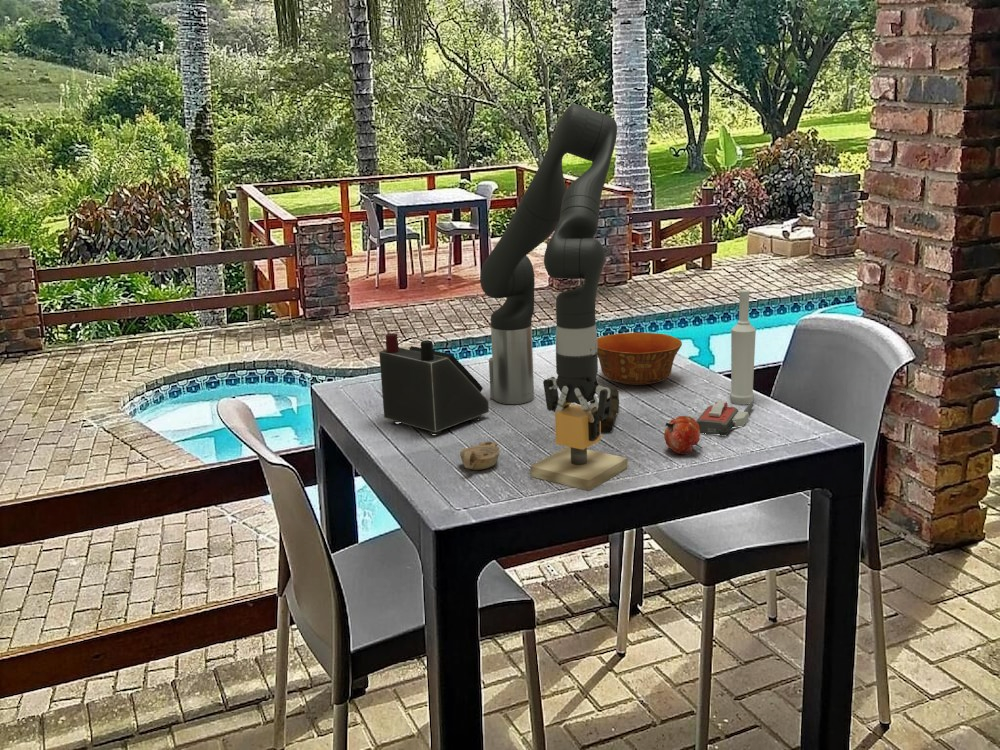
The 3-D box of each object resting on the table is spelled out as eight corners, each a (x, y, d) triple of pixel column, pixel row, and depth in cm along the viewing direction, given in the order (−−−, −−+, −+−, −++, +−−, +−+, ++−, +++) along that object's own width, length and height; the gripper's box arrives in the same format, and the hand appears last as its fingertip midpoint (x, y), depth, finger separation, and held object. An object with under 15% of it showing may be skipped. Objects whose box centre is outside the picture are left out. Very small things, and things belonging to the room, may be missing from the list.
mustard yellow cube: (555, 443, 194) (554, 413, 192) (574, 434, 199) (573, 404, 197) (583, 449, 191) (582, 418, 189) (600, 440, 195) (600, 409, 193)
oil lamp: (475, 453, 209) (474, 429, 207) (510, 457, 206) (509, 432, 204) (447, 476, 197) (446, 451, 196) (484, 481, 194) (482, 455, 193)
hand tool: (613, 434, 216) (612, 413, 215) (593, 433, 217) (593, 412, 216) (628, 406, 234) (628, 386, 232) (610, 405, 235) (610, 386, 233)
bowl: (619, 365, 265) (619, 326, 262) (696, 376, 253) (697, 336, 250) (575, 386, 249) (574, 345, 246) (656, 399, 237) (656, 356, 234)
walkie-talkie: (735, 441, 210) (756, 411, 227) (735, 420, 209) (757, 391, 226) (691, 436, 214) (716, 407, 231) (692, 416, 212) (716, 388, 230)
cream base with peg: (530, 476, 195) (528, 425, 193) (570, 455, 205) (568, 406, 202) (589, 490, 188) (588, 437, 185) (627, 468, 197) (627, 417, 194)
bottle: (749, 406, 229) (752, 293, 222) (726, 403, 232) (728, 292, 225) (757, 399, 233) (760, 289, 226) (734, 397, 236) (736, 287, 229)
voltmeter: (490, 418, 229) (486, 328, 224) (435, 438, 218) (429, 345, 212) (439, 404, 240) (433, 319, 234) (384, 423, 228) (377, 334, 223)
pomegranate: (686, 453, 210) (647, 428, 207) (709, 425, 208) (671, 400, 205) (696, 470, 203) (657, 445, 200) (720, 441, 201) (681, 416, 198)
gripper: (532, 348, 191) (535, 436, 196) (598, 359, 183) (600, 450, 187) (555, 339, 197) (558, 424, 201) (621, 349, 188) (622, 437, 193)
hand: (578, 436), depth 194 cm, fingers closed on mustard yellow cube, 6 cm apart
